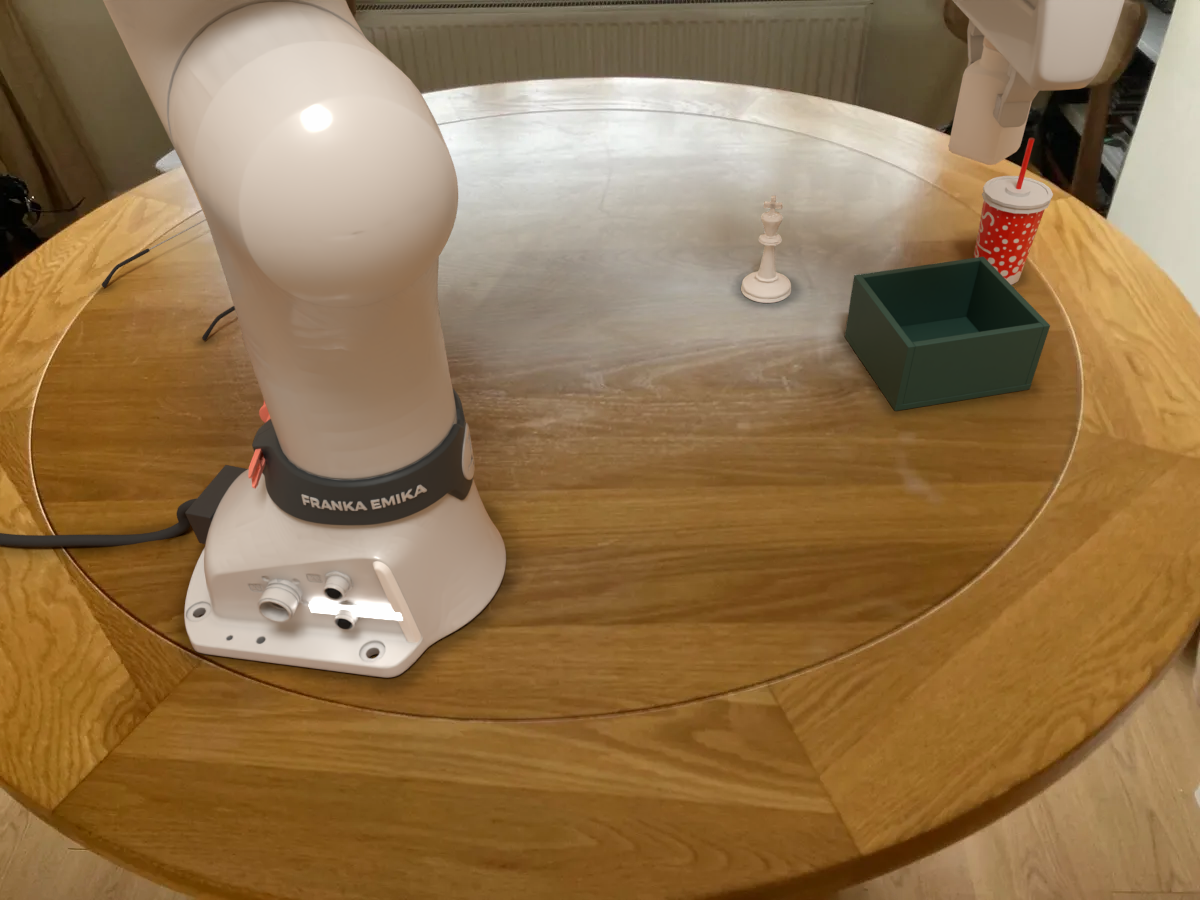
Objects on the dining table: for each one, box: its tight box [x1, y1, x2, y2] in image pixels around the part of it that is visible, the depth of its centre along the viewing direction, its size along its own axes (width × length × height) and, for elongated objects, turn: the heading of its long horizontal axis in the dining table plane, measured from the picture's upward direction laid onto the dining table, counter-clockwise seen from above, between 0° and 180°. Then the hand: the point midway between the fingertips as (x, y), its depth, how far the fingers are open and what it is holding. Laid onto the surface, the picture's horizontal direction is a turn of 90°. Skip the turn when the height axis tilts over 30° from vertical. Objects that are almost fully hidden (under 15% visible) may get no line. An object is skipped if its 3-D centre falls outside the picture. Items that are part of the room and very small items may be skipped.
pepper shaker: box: [948, 36, 1033, 166], centre depth 67 cm, size 4×4×10 cm
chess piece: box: [740, 195, 792, 304], centre depth 92 cm, size 5×5×10 cm
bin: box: [844, 257, 1051, 412], centre depth 83 cm, size 12×11×7 cm
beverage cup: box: [973, 137, 1054, 286], centre depth 91 cm, size 6×6×14 cm
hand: (993, 104), depth 68 cm, fingers closed on pepper shaker, 5 cm apart
